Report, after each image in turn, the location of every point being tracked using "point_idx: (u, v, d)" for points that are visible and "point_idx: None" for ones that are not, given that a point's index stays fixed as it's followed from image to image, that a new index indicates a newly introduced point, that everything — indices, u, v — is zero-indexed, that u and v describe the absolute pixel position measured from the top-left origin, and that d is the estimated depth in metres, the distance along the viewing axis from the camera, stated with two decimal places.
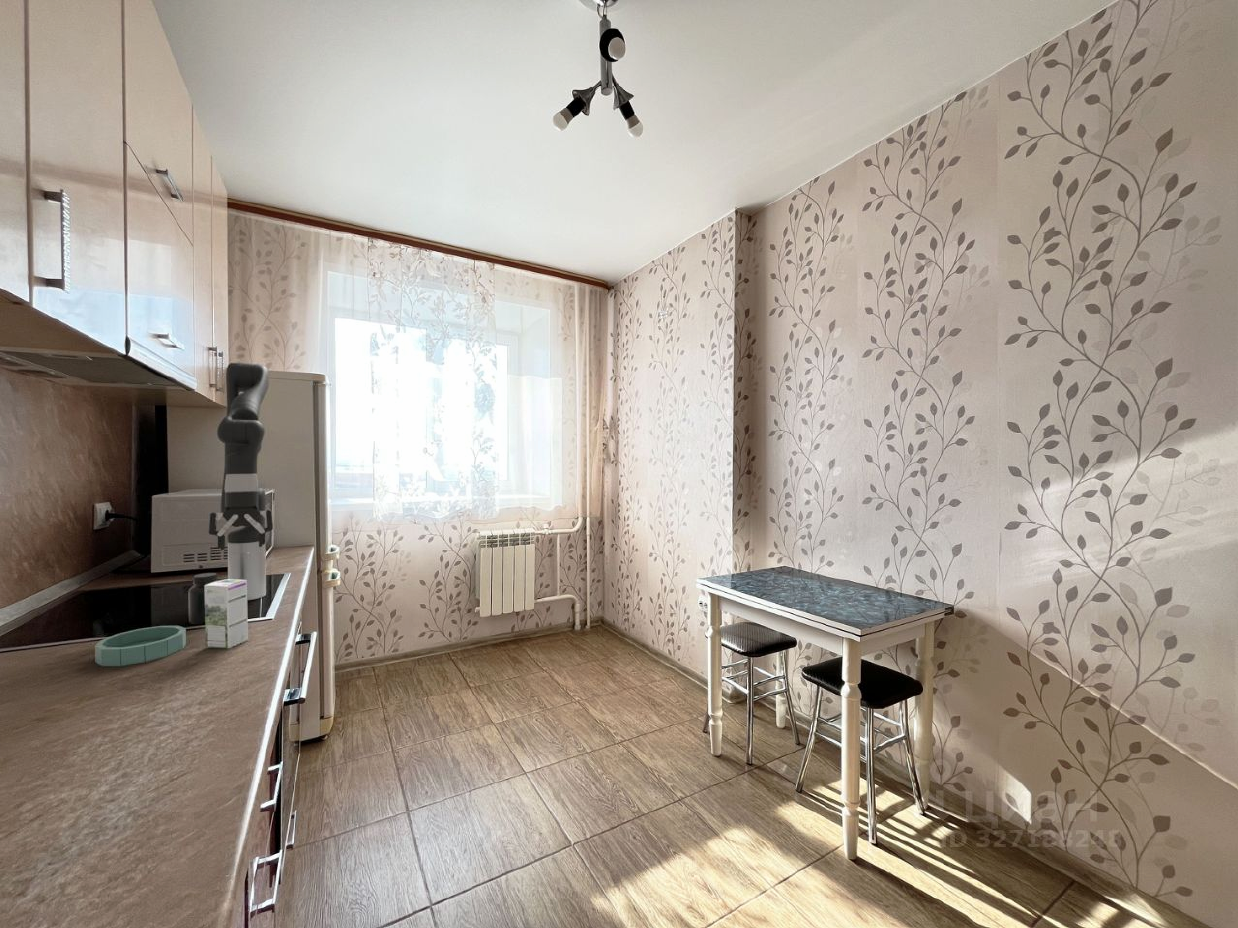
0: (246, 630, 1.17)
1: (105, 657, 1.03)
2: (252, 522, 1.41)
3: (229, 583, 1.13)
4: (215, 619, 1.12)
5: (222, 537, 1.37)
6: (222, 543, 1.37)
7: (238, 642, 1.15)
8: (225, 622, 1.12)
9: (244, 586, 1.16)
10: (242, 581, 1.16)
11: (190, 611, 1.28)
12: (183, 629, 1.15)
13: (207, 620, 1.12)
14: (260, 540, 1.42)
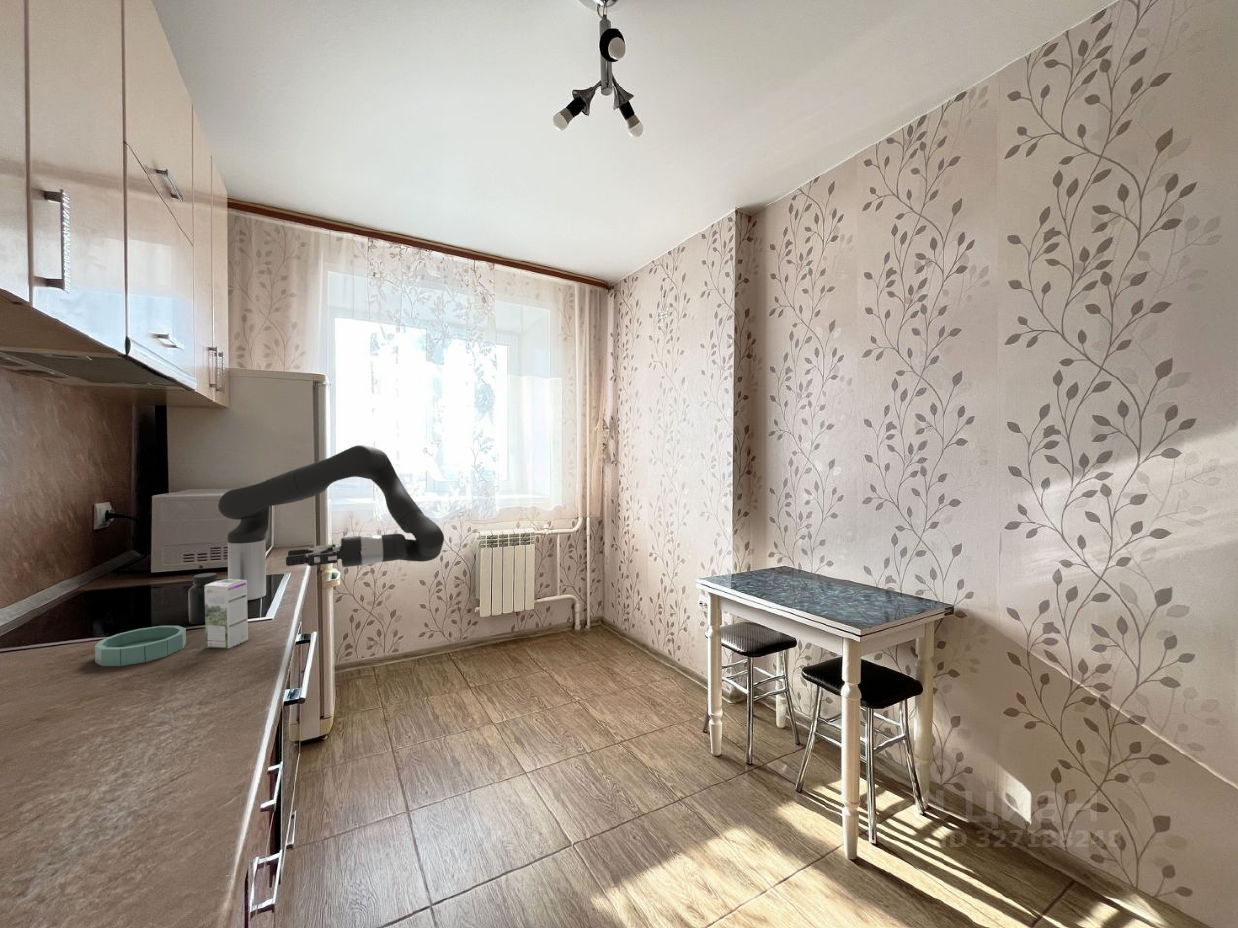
0: (246, 630, 1.17)
1: (105, 657, 1.03)
2: None
3: (229, 583, 1.13)
4: (215, 619, 1.12)
5: (303, 563, 1.19)
6: (295, 564, 1.18)
7: (238, 642, 1.15)
8: (225, 622, 1.12)
9: (244, 586, 1.16)
10: (242, 581, 1.16)
11: (190, 611, 1.28)
12: (183, 629, 1.15)
13: (207, 620, 1.12)
14: None
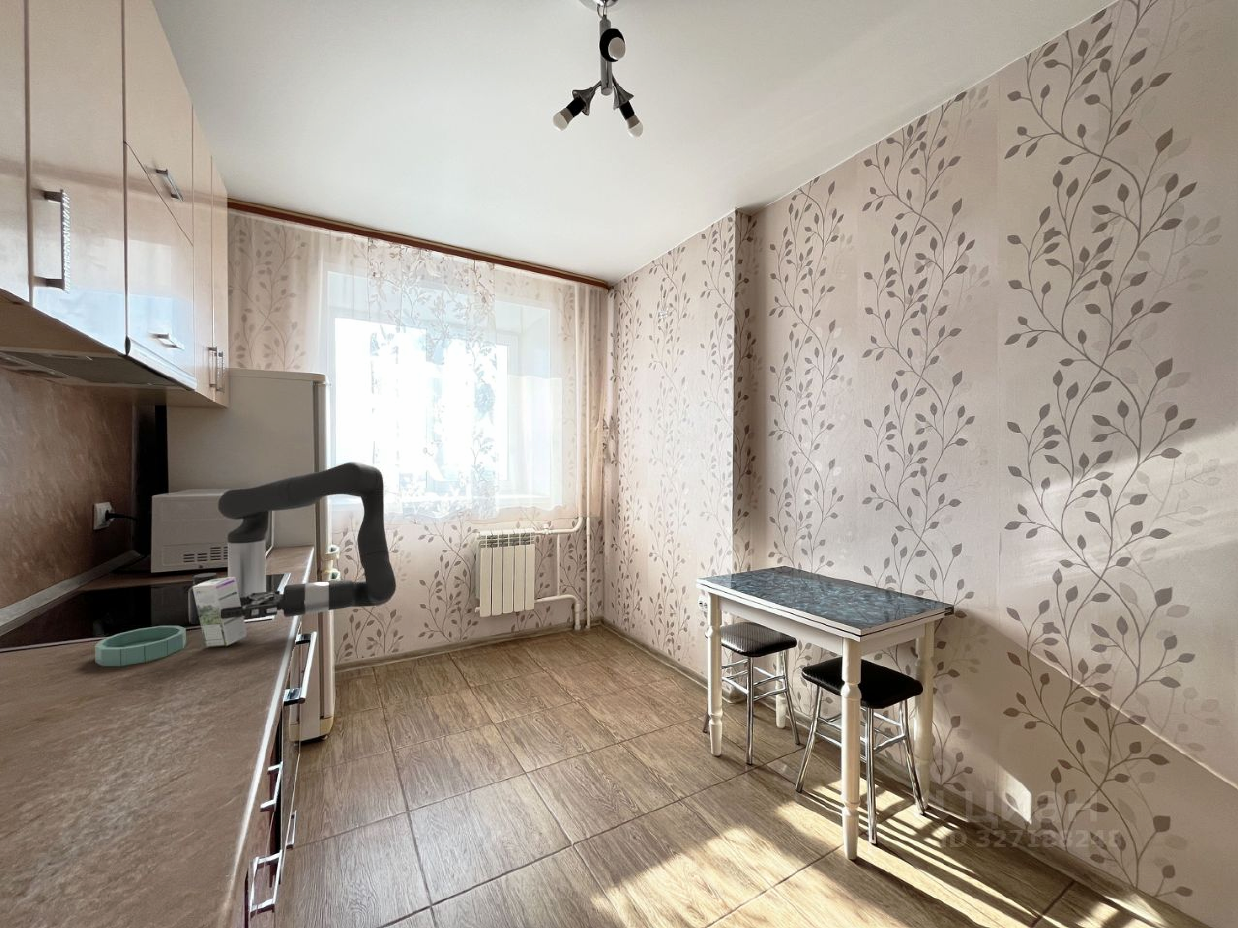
0: (243, 626, 1.17)
1: (105, 657, 1.03)
2: None
3: (217, 581, 1.13)
4: (209, 618, 1.12)
5: None
6: None
7: (237, 638, 1.15)
8: (220, 620, 1.12)
9: (233, 583, 1.16)
10: (230, 578, 1.15)
11: (190, 611, 1.28)
12: (183, 629, 1.15)
13: (202, 620, 1.12)
14: None
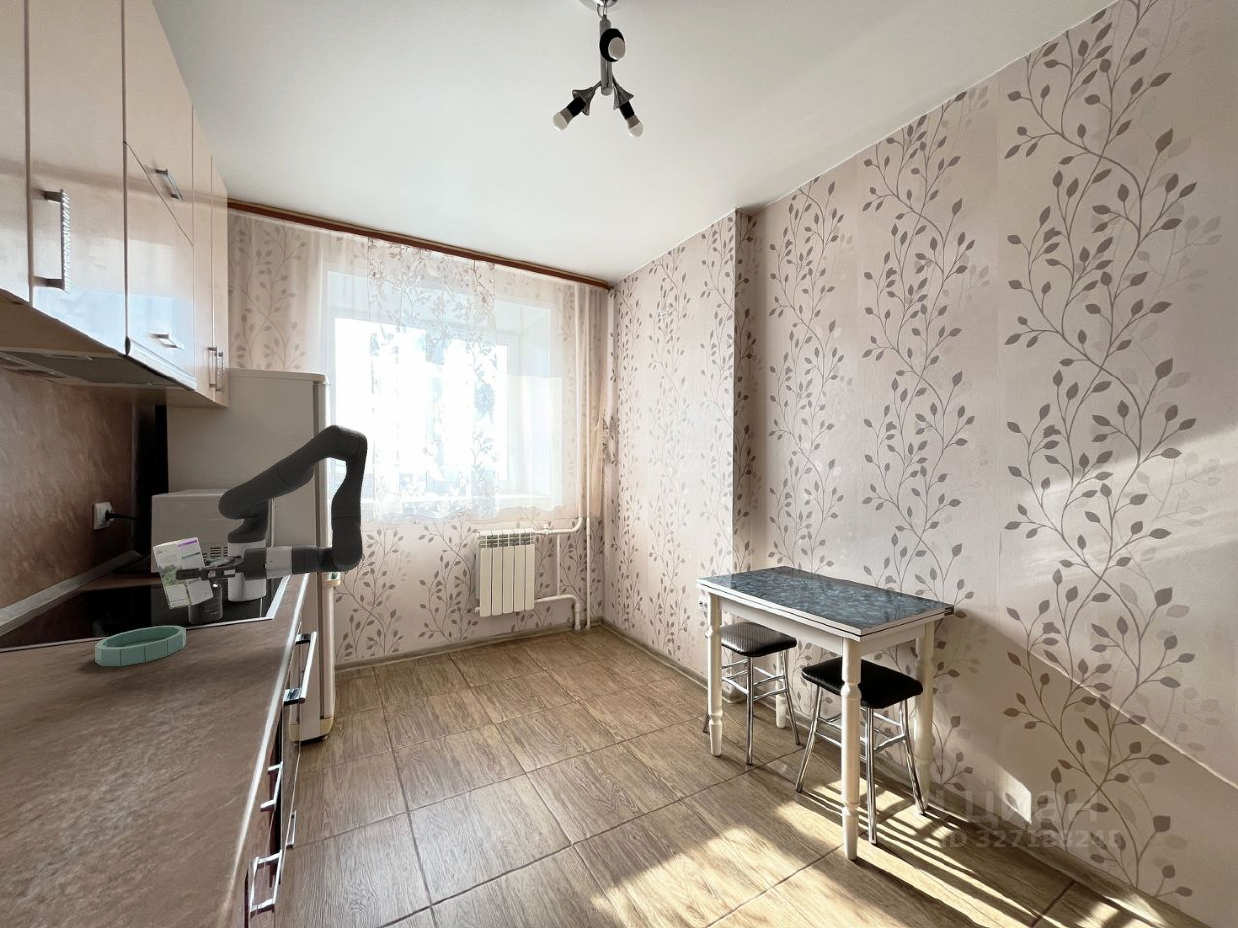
0: (209, 587, 1.15)
1: (105, 657, 1.03)
2: None
3: (178, 541, 1.10)
4: (172, 578, 1.09)
5: (196, 577, 1.10)
6: (187, 578, 1.09)
7: (203, 599, 1.13)
8: None
9: (196, 543, 1.14)
10: (192, 538, 1.13)
11: (190, 611, 1.28)
12: (183, 629, 1.15)
13: (164, 581, 1.10)
14: None
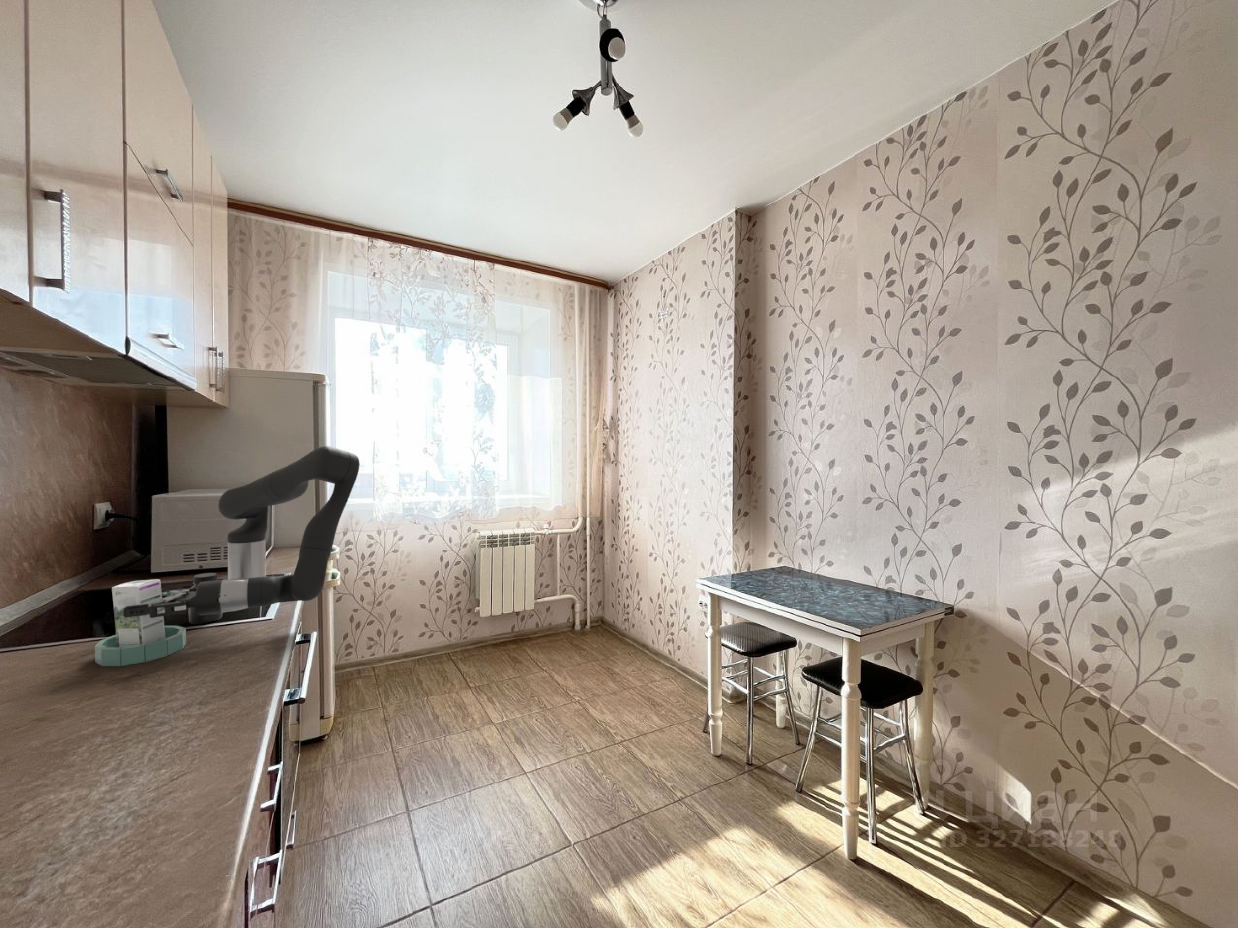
0: (163, 632, 1.12)
1: (105, 657, 1.03)
2: None
3: (140, 583, 1.08)
4: (126, 621, 1.07)
5: None
6: (135, 615, 1.06)
7: None
8: (139, 624, 1.07)
9: (158, 586, 1.11)
10: (155, 581, 1.11)
11: (190, 611, 1.28)
12: (183, 629, 1.15)
13: (117, 624, 1.07)
14: None
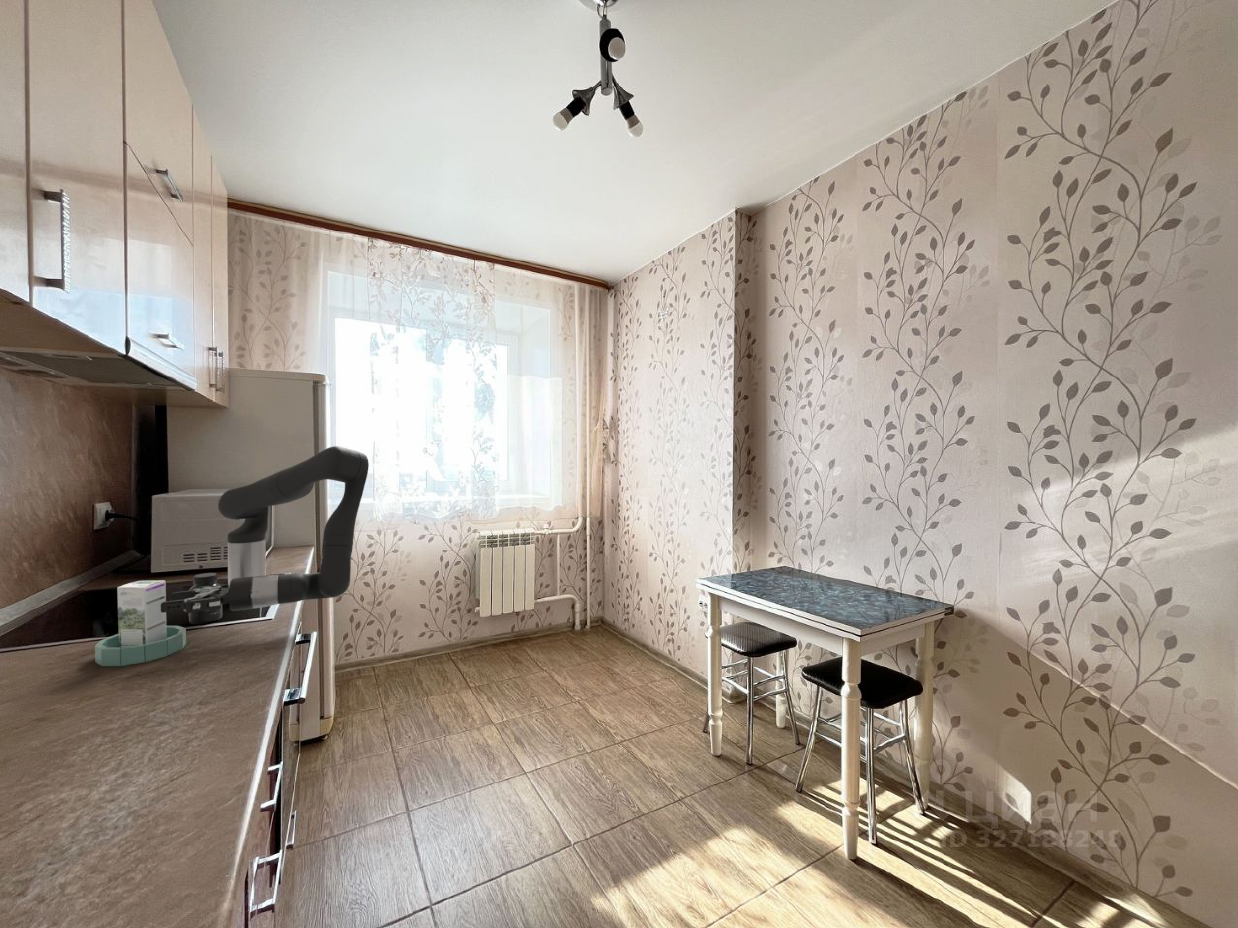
0: (165, 633, 1.12)
1: (105, 657, 1.03)
2: None
3: (146, 584, 1.08)
4: (130, 622, 1.07)
5: (182, 609, 1.10)
6: (172, 611, 1.09)
7: None
8: (143, 625, 1.07)
9: (163, 587, 1.12)
10: (160, 582, 1.11)
11: None
12: (183, 629, 1.15)
13: (121, 624, 1.07)
14: None
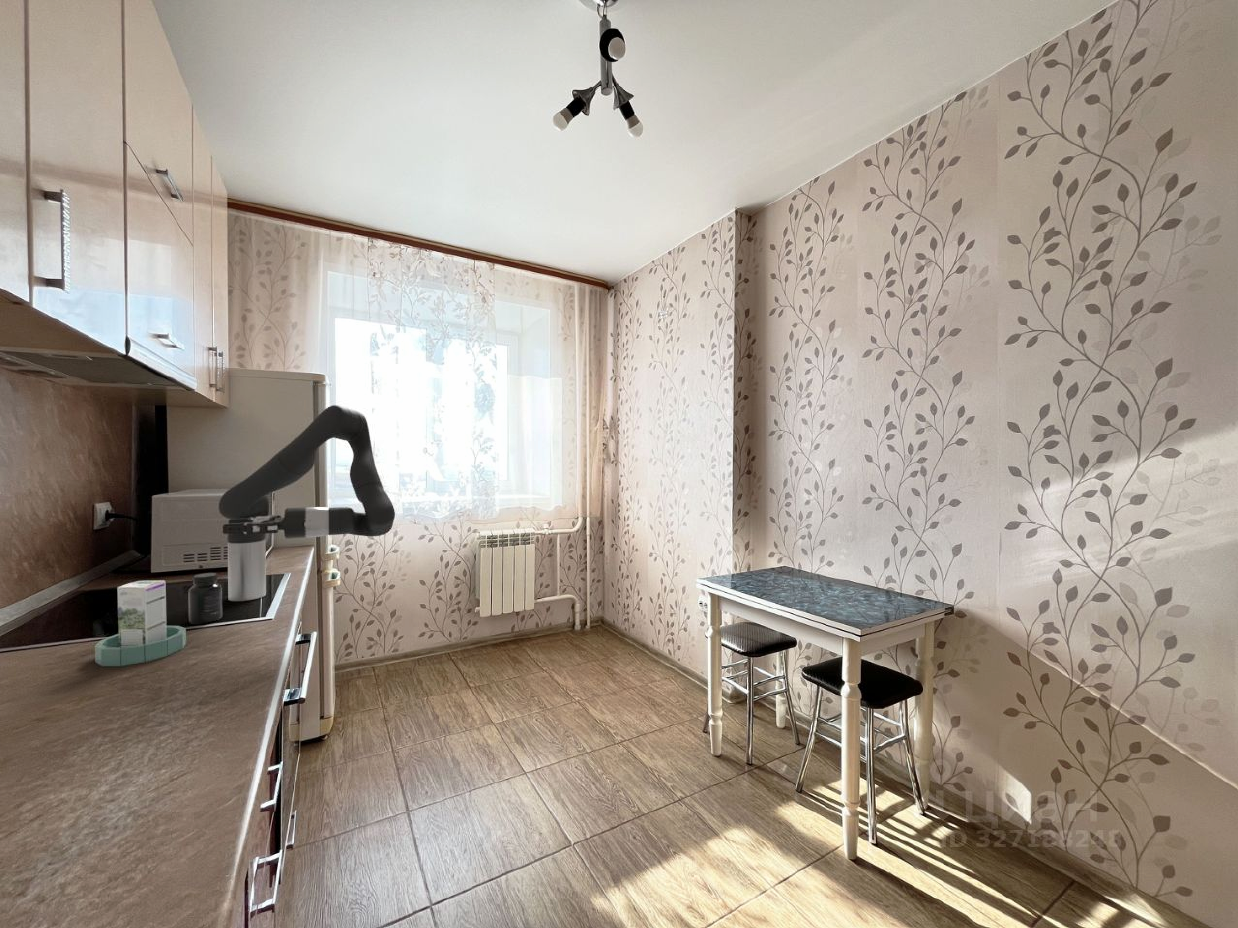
0: (165, 633, 1.12)
1: (105, 657, 1.03)
2: None
3: (146, 584, 1.08)
4: (130, 622, 1.07)
5: None
6: (233, 533, 1.15)
7: None
8: (143, 625, 1.07)
9: (163, 587, 1.12)
10: (160, 582, 1.11)
11: (190, 611, 1.28)
12: (183, 629, 1.15)
13: (121, 624, 1.07)
14: None
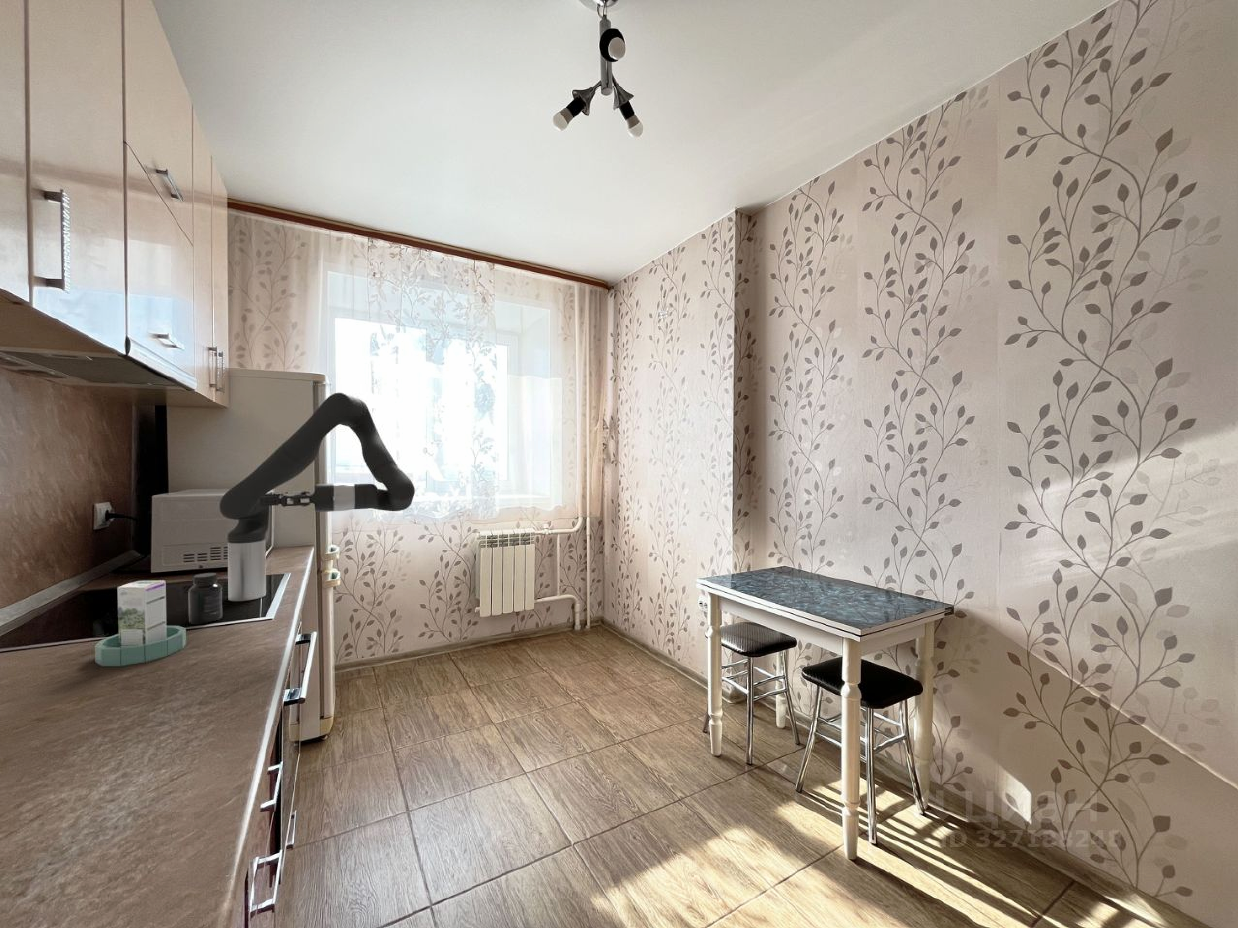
0: (165, 633, 1.12)
1: (105, 657, 1.03)
2: None
3: (146, 584, 1.08)
4: (130, 622, 1.07)
5: (277, 504, 1.25)
6: (269, 505, 1.25)
7: None
8: (143, 625, 1.07)
9: (163, 587, 1.12)
10: (161, 582, 1.11)
11: (190, 611, 1.28)
12: (183, 629, 1.15)
13: (121, 624, 1.07)
14: None
